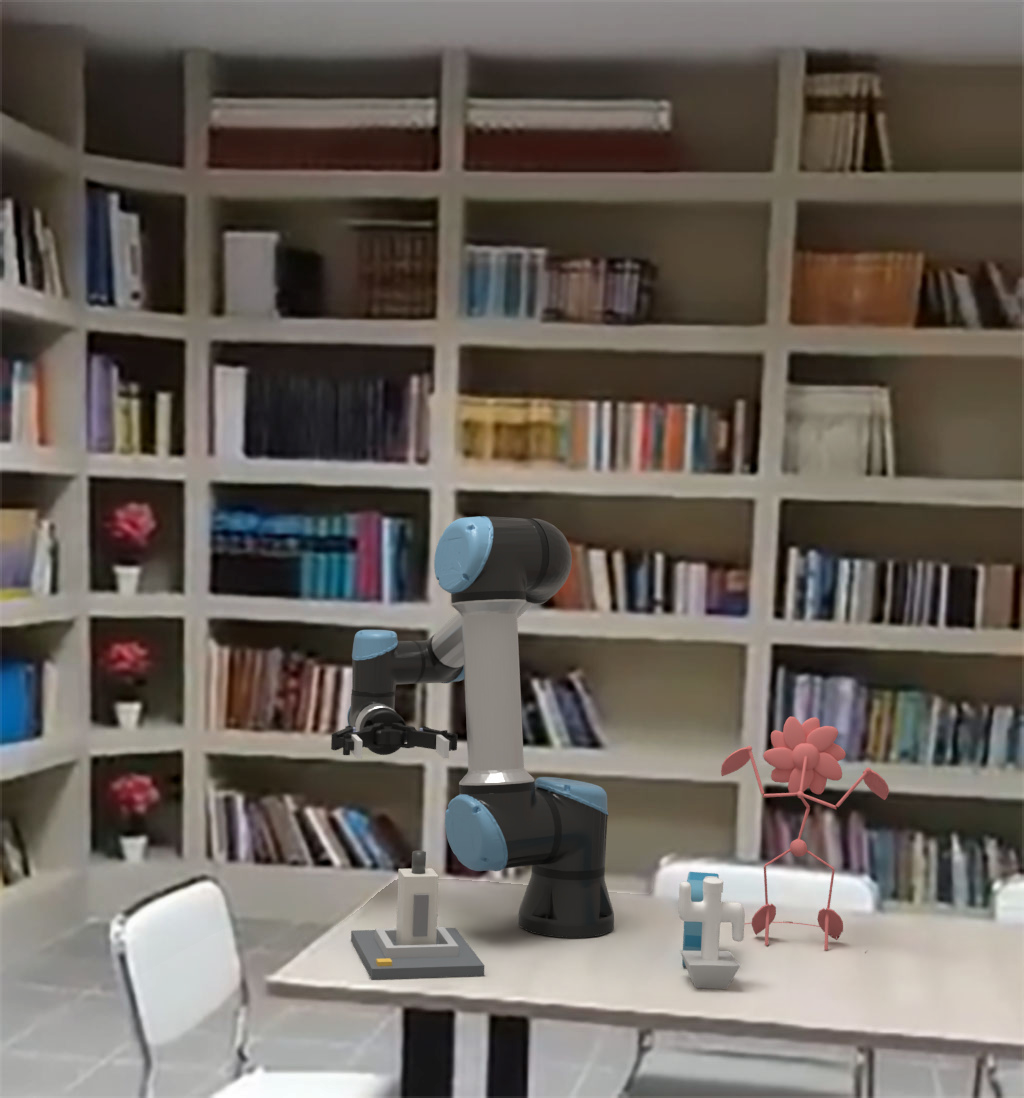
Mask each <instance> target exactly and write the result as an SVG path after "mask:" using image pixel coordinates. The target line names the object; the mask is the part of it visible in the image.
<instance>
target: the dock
mask: <svg viewBox="0 0 1024 1098" xmlns="http://www.w3.org/2000/svg"><path fill="white" fill-rule="evenodd" d="M350 934H351V935H350V941H351V943H352V945H353V947H354V949H355V951H356V952H357V955H358V956H359V958H360V960H361V963H363V966H364V968H365V969H366V971H367V973H368V976H369V977H370V979H371V980H375V981H376V980H402V979H430V978H431V979H435V978H437V979H439V978H458V977H459V978H463V977H485V964H484V963H483V961H481V959H480V958H479V956H478V955H477V954H476V953H475V951H474V950H473V949H472V947H471V946H470V945H469V943H468V942H467V940H466V939H465V938H464V937H463V935H462V934H461V933H460V931H458V929H457V928H456V927H445V926H437V932H436V944H432V945H397V944H396V927H394V928H393V927H389V928H387V927H386V928H385V927H384V928H374V929H364V930H363V929H361V930H359V929H358V930H351V933H350Z"/></svg>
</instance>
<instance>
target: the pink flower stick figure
mask: <svg viewBox="0 0 1024 1098" xmlns="http://www.w3.org/2000/svg"><path fill="white" fill-rule="evenodd" d="M838 735H839V731H838V728H836V727H835V726H831V725H824V726H821V722H820V719H819V718H818V717H815V716H814V717H810V718H808V719H806V720H804V722H803V723H802V724H801V722H800V721H799V719H797V718H796V717H795V716H789V717H788V718H787V719H786V720H785V723H784V724H783V730H782V731H780V730H777V729H774V730H773V731H772V732H771V734H770V740H771V741H770V742H771V745H772V746H773V748H771V749H768V750H766V751H764V753H763V755H762V756H763V759H764V761H765V762H766V763H767V764H768V765H770V766H771V767H773V770H771V774H770V779H771V781H773V782H775V783H780V784H781V783H782V784H784V783H785V784H786V783H788V784H787V789H788V792H786V793H785V792H781V793H780V792H779V793H765V791H764V787H763V784H762V780H761V777H760V774H759V772H758V768H757V764H756V761H755V758H754V755H753V751H752V750H753V747H752V746H751V745H747V746H746V747H741V748H739V749H737V750H736V751H734V752H732V753H731V754H729V755H728V756H727V757H726V758H725V759H724V761H723V762H722V764H721V770H720V773H721V777H724V776H728V775H729V774H732V773H734V772H737V771H738V770H740V769H741V768H743V767H744V766H746V764H748V762H749V761H751V766H752V768H753V771H754V774H755V778H756V781H757V785H758V788H759V792H760V794H761V795H762V796H761V797H762V798H776V797H778V798H779V797H780V798H783V797H797V798H798V799H800V800H801V801H802V803H803V805H804V806H805V807H806V808H805V812H804V816H803V819H802V823H801V826H800V829H799V832H798V837H797V838H796V839H794V840H792V841H791V843H790V845H789V849H787V850H786V851H784V852H783V853H781V854H779V855H778V856H776V857H775V858H773V859H771V860H770V861H768V862H767V863H765V864H764V866H763V881H764V898H765V899H764V901H765V904H764V905H762V906H761V907H760V908H759V909H758V910H757V911H756V912H755V913H754V915H753V917H752V918H751V922H746V923H745V922H744V925H750V924H751V927H752V931H753V932H754V934H755V935H756V936H757V935H758V934H760V933H761V932H763V931H764V932H765V933H764V946H769V939H770V938H769V937H770V936H769V934H770V932H769V931H770V925H771V924H782V923H783V924H794V925H802V926H803V925H804V926H812V927H818V928H820V929H821V930H822V932H824V948H823V950H824V951H829V937H831V938H832V939H834V940H836V941H838V939H839V938H840V936H841V935H842V933H843V932H844V921H843V920H842V919H843V918H842V917H841V916H840V915H839V914H838V913H837V912H836V911H835V909H832V908H830V907H831V901H832V892H833V887H834V878H835V871H836V869H835V867H834V866H832V865H831V864H829V863H828V862H826V861H825V860H823V859H822V858H821V857H819V856H817V855H816V854H815V853H813V852H811V851H810V850H808V845H807V843H806V842H805V840H803V839H801V838H802V835H803V832H804V829H805V826H806V823H807V819H808V816H809V813H810V811H811V808H810V807H811V805H810V804H809V803H808V802H807V801H806V799H807V800H810V801H813V802H815V803H818V804H821V805H823V806H826V807H829V808H831V809H834V810H836V811H837V808H839V807H840V806H841V805H842V804H843V803H844V802H845V800H846V799H847V798H848V797H849V795H851V793H852V792H853V791H854V790H855V789H856V788H857V787H858V786H859V784H860V783H862V781H863V782H864V784H865V785H866V787H867V788H868V789H869V790H870V791H871V792H873V794H875V795H876V796H878V797H879V798H880V799H882V800H883V801H885V800H886V799H887V798H888V795H889V793H890V788H889V785H888V784H887V781H886V780H885V779H884V778H883V777H882V776H881V775H880V774H879V773H878V772H876V771H875V770H872V769H871V767H866V768H865V769H864V770H863V771H862V775H860V777H859V778H858V779H857V780H856V782H854V783H853V785H851V786H850V788H849V789H848V791H846V792H845V794H844V795H843V796H842V797H841V798H840V800H838V802H837V803H836V804H835V805H834V804H833V803H829V802H827V801H825V800H821V799H818V798H816V797H814V796H811V795H808V794H805V793H804V792H805V791H807V789H810V791H811V792H812V793H813V794H816V795H822V793H824V791H825V788H826V786H827V780H831V781H840V780H841V779H842V778H843V771H842V767H841V765H840V763H839V761H841V760H843V759H845V758H846V755H847V754H846V753H847V752H846V751H845V750H844V749H843V747H842V746H840V745H839V744H836V743H835V741H836V739H837V738H838ZM788 853H790V854H791V855H792V856H794V857H797V858H799V857H803V856H805V855H806V854H809V856H812V857H813V858H814V859H817V860H818V861H819V862H821V863H822V864H824V865H825V866H827V867H829V868H830V869H832V870H831V877H830V885H829V892H828V898H827V899H828V900H827V905H826V906H827V907H826V909H825V907H823V908H821V909H820V910H819V911H818V914H817V918H816V919H817V922H818V925H815V924H809V923H801V922H799V923H798V922H793V921H785V920H783V921H774V920H775V918H776V914H777V907H776V905H774V904H773V903H769V899H768V879H767V866H769V865H771V864H772V863H773V862H775V861H777V860H778V859H780V858H781V857H783V856H785V855H787V854H788ZM867 952H868V950H866V951H865V952H864V953H865V954H866V953H867Z"/></svg>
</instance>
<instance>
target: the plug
mask: <svg viewBox="0 0 1024 1098" xmlns="http://www.w3.org/2000/svg"><path fill="white" fill-rule="evenodd" d="M411 854H412V855H411V868H398V870H397V871H398V872H397V873H398V875H397V876H398V877H397V902H396V903H397V904H396V906H397V907H396V925H395V926H396V927H395V928H396V944H397V945H432V944H436V932H437V927H438V926H437V925H438V904H439V878H440V877H439V875H438V874H437V873H436V871H435V870H434V869H433V868H431V867H430V868H429V867H428V868H426V865H427V864H426V863H427V860H426V859H427V851H425V850H413V851H412V853H411Z"/></svg>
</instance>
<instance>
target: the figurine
mask: <svg viewBox="0 0 1024 1098" xmlns="http://www.w3.org/2000/svg"><path fill="white" fill-rule="evenodd" d="M723 891H724V880H723V879H721V878H719V879H718V877H714V876H707V877H705V878H704V880H703V901H701V902H692V901H691V885H690V883H689V882H687V881H681V882H680V884H679V888H678V893H679V894H678V915H679V918H680V920H682V921H683V922H684V921H687V922H702V941H701V951H686V950H683V949H682V950H681V949H680V950H679V952H680V955H681V957H682V958H683V960H684V963H685V965H686V967H685V968H686V971H687V973H688V976H689V978H690V980H691V982H692V983H693V985H694V986H695V988H696V989H727V988H728V987H729V985H730V984H731V982H732V981H733V979H734V977H735V975H736V974H737V972H738V971H739V968H740V967H741V964H740V963H739V962H738V961H737V959H736V958H735V957H734V955H733V954H732V952H731V951H729V950H720V938H721V937H720V933H721V931H720V930H721V923H731V938H732V940H733V941H735V942H743V940H744V938H745V920H746V919H745V917H746V913H745V907H744V906H743V903H742V904H741V903H740V902H731V901H730V902H728V901H727V902H726V901H725V902H723V901H722V893H723Z"/></svg>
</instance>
